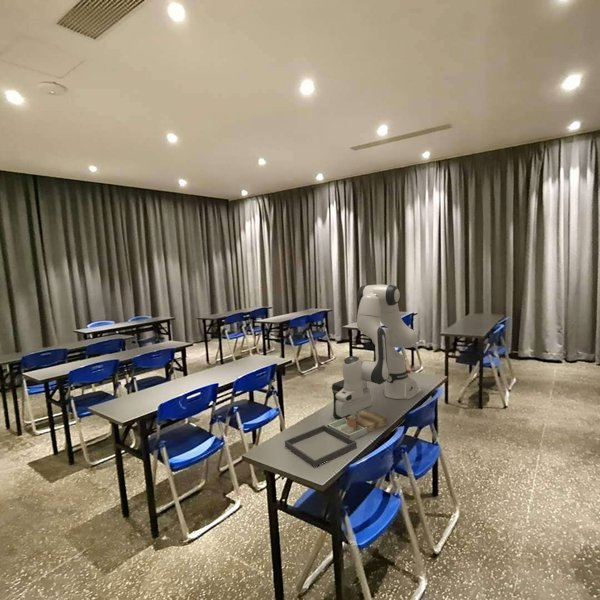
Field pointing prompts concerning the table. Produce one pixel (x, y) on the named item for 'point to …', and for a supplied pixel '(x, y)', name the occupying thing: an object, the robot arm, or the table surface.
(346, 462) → the table surface
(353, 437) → the tray
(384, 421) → the oak board
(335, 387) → the coffee jar
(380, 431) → the table surface
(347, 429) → the cream tile
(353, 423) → the terracotta tile
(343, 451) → the mat rim
